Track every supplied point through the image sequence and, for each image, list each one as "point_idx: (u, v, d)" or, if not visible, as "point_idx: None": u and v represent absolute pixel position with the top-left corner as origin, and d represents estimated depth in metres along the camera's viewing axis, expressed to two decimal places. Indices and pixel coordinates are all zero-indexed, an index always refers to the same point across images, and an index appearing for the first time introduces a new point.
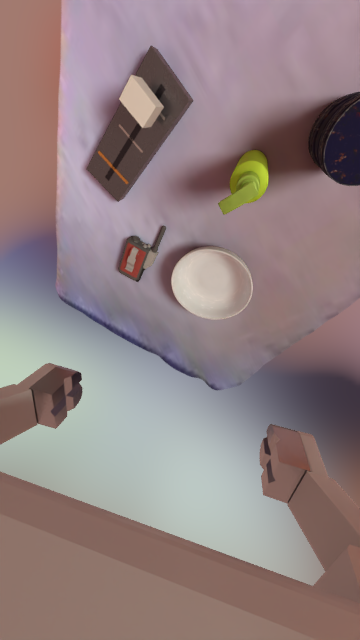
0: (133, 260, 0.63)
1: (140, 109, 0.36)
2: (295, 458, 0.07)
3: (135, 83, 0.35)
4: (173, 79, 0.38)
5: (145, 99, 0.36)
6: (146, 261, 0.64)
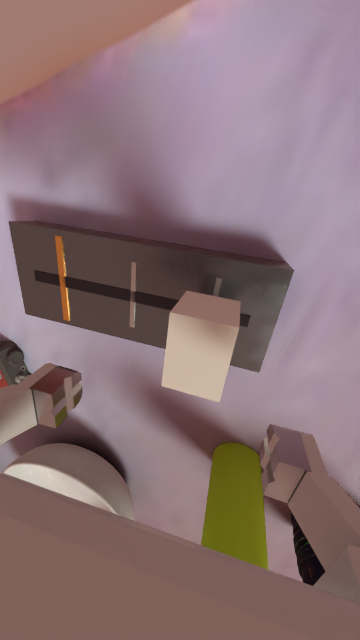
0: None
1: (189, 371, 0.13)
2: (295, 458, 0.07)
3: (229, 343, 0.12)
4: (269, 334, 0.19)
5: (215, 376, 0.13)
6: None
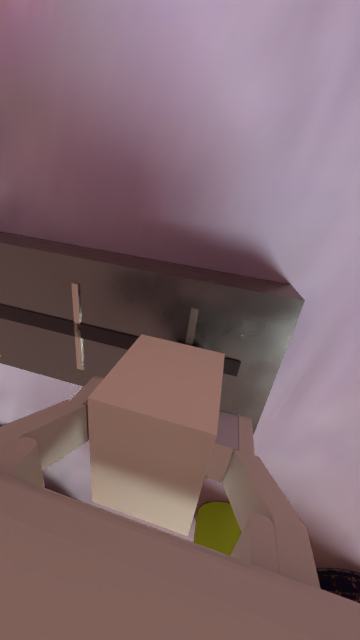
0: None
1: (134, 488, 0.08)
2: (226, 438, 0.08)
3: (200, 458, 0.06)
4: (267, 386, 0.13)
5: (179, 502, 0.07)
6: None
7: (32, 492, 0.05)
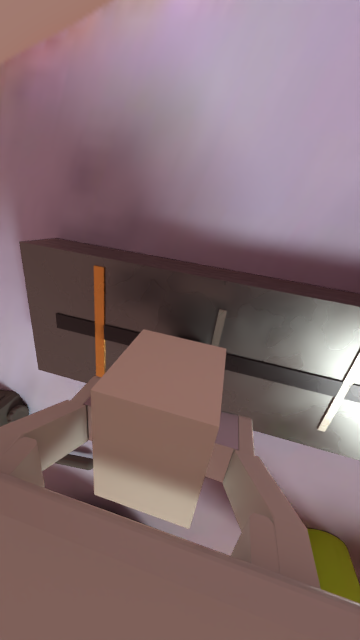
0: None
1: (136, 481, 0.08)
2: (226, 438, 0.08)
3: (202, 449, 0.06)
4: None
5: (181, 494, 0.07)
6: None
7: (32, 492, 0.05)
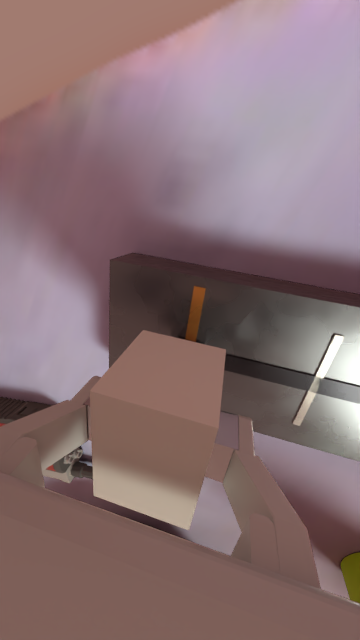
0: None
1: (135, 482, 0.08)
2: (227, 438, 0.08)
3: (202, 451, 0.06)
4: None
5: (180, 496, 0.07)
6: None
7: (32, 492, 0.05)
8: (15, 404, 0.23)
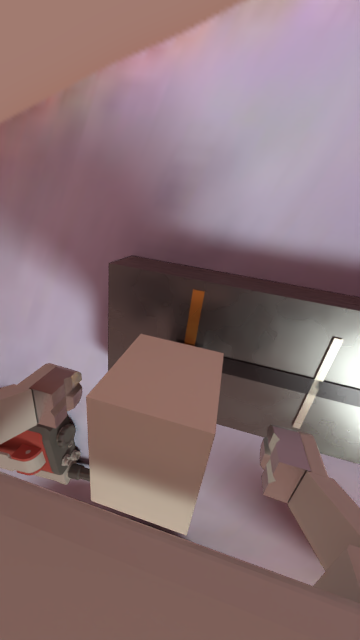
0: (7, 466, 0.21)
1: (132, 487, 0.08)
2: (295, 458, 0.07)
3: (198, 457, 0.06)
4: None
5: (177, 501, 0.07)
6: None
7: (32, 492, 0.05)
8: None
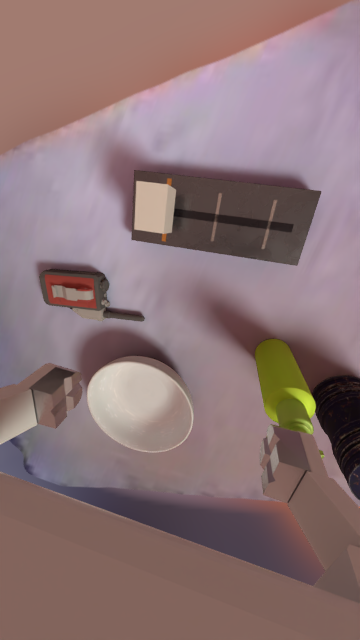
0: (73, 297, 0.40)
1: (147, 216, 0.26)
2: (295, 458, 0.07)
3: (164, 194, 0.25)
4: (305, 236, 0.30)
5: (160, 216, 0.26)
6: (84, 310, 0.43)
7: (32, 492, 0.05)
8: (74, 271, 0.42)
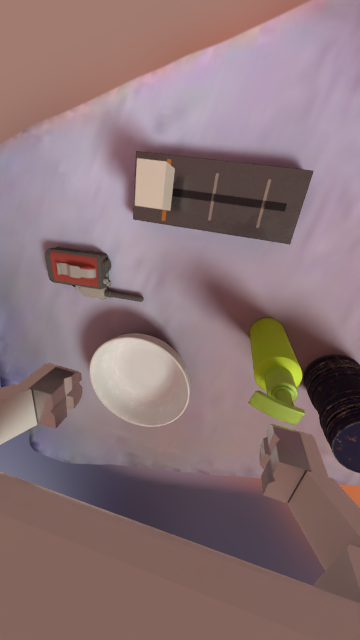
0: (77, 275, 0.42)
1: (147, 192, 0.28)
2: (295, 458, 0.07)
3: (163, 171, 0.27)
4: (297, 215, 0.32)
5: (159, 193, 0.28)
6: (86, 288, 0.45)
7: (32, 492, 0.05)
8: (78, 250, 0.44)
